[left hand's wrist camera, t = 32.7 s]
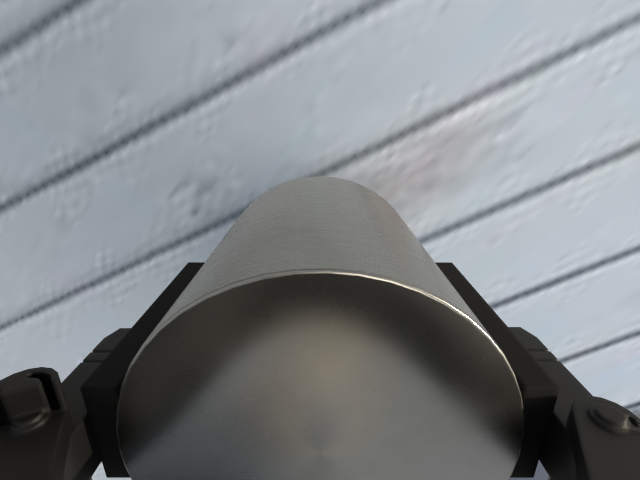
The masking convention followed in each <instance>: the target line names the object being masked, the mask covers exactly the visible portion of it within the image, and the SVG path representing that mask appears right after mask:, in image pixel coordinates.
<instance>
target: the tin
mask: <svg viewBox="0 0 640 480" xmlns="http://www.w3.org/2000/svg"><path fill="white" fill-rule="evenodd" d="M116 431H117V438H118V445H119V450H120V453H121V456H122V459H123V462H124V465H125V468H126V470H127V471H128V473H129V475H130V477H131V479H132V480H509V478H510V477H511V475H512V473H513V470H514V468H515V465H516V463H517V460H518V458H519V455H520V450H521V446H522V441H523V436H524V411H523V403H522V396H521V392H520V389H519V386H518V383H517V379H516V376H515V373H514V371H513V370H512V368H511V366H510V364H509V362H508V360H507V358H506V357H505V355H504V353H503V351H502V350H501V349H500V348H499V346H498V345H497V344H496V342H495V341H494V340H493V338H492V337H491V336H490V334H489V333H488V332H487V330H486V329H485V328H484V326H483V325H482V324H481V323H480V321H479V320H478V319H477V317H476V316H475V315H474V313H473V312H472V311H471V309H470V308H469V307H468V305H467V304H466V303H465V301H464V300H463V299H462V297H461V296H460V295H459V294H458V292H457V291H456V290H455V288H454V287H453V286H452V284H451V283H450V282H449V280H448V279H447V278H446V276H445V275H444V274H443V272H442V271H441V270H440V268H439V267H438V266H437V265H436V263H435V262H434V261H433V259H432V258H431V257H430V255H429V254H428V253H427V251H426V250H425V249H424V247H423V246H422V245H421V243H420V242H419V241H418V239H417V238H416V237H415V236H414V234H413V233H412V232H411V230H410V229H409V228H408V226H407V225H406V224H405V222H404V221H403V220H402V218H401V217H400V216H399V215H398V213H397V212H396V211H395V209H394V208H393V207H392V206H391V205H390V204H389V203H388V202H387V201H386V200H385V199H383V198H382V197H380V196H379V195H378V194H376V193H375V192H373V191H372V190H370V189H368V188H366V187H364V186H362V185H360V184H357V183H354V182H352V181H348V180H344V179H340V178H333V177H307V178H301V179H296V180H292V181H289V182H286V183H283V184H281V185H279V186H276V187H274V188H272V189H270V190H269V191H267V192H266V193H264V194H262V195H261V196H260V197H258V198H257V199H256V200H255V201H254V202H253V203H251V204H250V205H249V207H248V208H247V209H246V210H245V211H244V212H243V213H242V215H241V216H240V217H239V219H238V220H237V221H236V222H235V224H234V225H233V226H232V228H231V229H230V230H229V232H228V233H227V234H226V236H225V237H224V238H223V240H222V241H221V242H220V244H219V245H218V246H217V247H216V249H215V250H214V251H213V253H212V254H211V255H210V257H209V258H208V259H207V261H206V262H205V263H204V265H203V266H202V267H201V268H200V270H199V271H198V272H197V274H196V275H195V276H194V278H193V279H192V280H191V282H190V283H189V284H188V286H187V287H186V288H185V290H184V291H183V292H182V293H181V295H180V296H179V297H178V299H177V300H176V301H175V303H174V304H173V305H172V307H171V308H170V309H169V311H168V312H167V313H166V314H165V316H164V317H163V318H162V320H161V321H160V322H159V324H158V325H157V326H156V328H155V329H154V330H153V332H152V333H151V334H150V336H149V337H148V338H147V339H146V341H145V342H144V343H143V345H142V346H141V348H140V350H139V351H138V353H137V354H136V356H135V357H134V359H133V360H132V362H131V364H130V366H129V368H128V371H127V373H126V375H125V378H124V380H123V383H122V385H121V390H120V394H119V399H118V403H117V416H116Z"/></svg>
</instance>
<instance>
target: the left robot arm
mask: <svg viewBox="0 0 640 480" xmlns="http://www.w3.org/2000/svg"><path fill="white" fill-rule="evenodd" d="M203 265H204V263H188V264H187V265H186V266H185V267H184V268H183V270H182V271H181V272H180V273H179V274H178V275H177V276H176V278H175V279H174V280H173V281H172V282H171V283H170V284H169V286H168V287H167V288H166V289H165V290H164V291H163V293H162V294H161V295H160V296H159V297H158V298H157V299H156V301H155V302H154V303H153V304H152V305H151V306H150V307H149V309H148V310H147V311H146V312H145V313H144V314H143V316H142V317H141V318H140V319H139V320H138V321H137V322H136V324H135V325H134V326H133V327H132V328H120V329H118V330H117V331H115V332H114V333H112V334H110V335H109V336H107V337H106V338H104V339H103V340H102V341H101V342H100V343H99V344H98V345H97V346H96V347H95V348H94V350H93V352H92V353H90V354H89V355H88V356H87V357H86V358H85V359H84V360H83V363H80V364H79V365H78V366H77V367H76V368H75V369H74V371H73V372H72V373H71V374H70V375H69V376H68V377H67V378H66V379H65V380H64V381H63V382H62V383H61V381H60V378H59V375H58V372H56V371H55V370H54V369H52V368H45V367H39V368H32V369H27V370H24V371H21V372H18V373H15V374H12V375H10V376H8V377H6V378H4V379H2V380H0V480H92V478H91V477H92V475H93V474H94V472H95V470H96V469H97V467H98V466H99V464H100V462H101V461H102V463H103V466H104V470H105V473H106V476H107V477H130V475H129V473H128V471H127V470H126V468H125V465H124V462H123V459H122V456H121V453H120V450H119V445H118V438H117V431H116V416H117V403H118V399H119V394H120V390H121V385H122V383H123V380H124V378H125V375H126V373H127V371H128V368H129V366H130V364H131V362H132V360H133V359H134V357H135V356H136V354H137V353H138V351H139V350H140V348H141V346H142V345H143V343H144V342H145V341H146V339H147V338H148V337H149V336H150V334H151V333H152V332H153V330H154V329H155V328H156V326H157V325H158V324H159V322H160V321H161V320H162V318H163V317H164V316H165V314H166V313H167V312H168V311H169V309H170V308H171V307H172V305H173V304H174V303H175V301H176V300H177V299H178V297H179V296H180V295H181V293H182V292H183V291H184V290H185V288H186V287H187V286H188V284H189V283H190V282H191V280H192V279H193V278H194V276H195V275H196V274H197V272H198V271H199V270H200V268H201V267H202V266H203ZM436 265H437V266H438V267H439V268H440V270H441V271H442V272H443V274H444V275H445V276H446V278H447V279H448V280H449V282H450V283H451V284H452V286H453V287H454V288H455V290H456V291H457V292H458V294H459V295H460V296H461V297H462V299H463V300H464V301H465V303H466V304H467V305H468V307H469V308H470V309H471V311H472V312H473V313H474V315H475V316H476V317H477V319H478V320H479V321H480V323H481V324H482V325H483V326H484V328H485V329H486V330H487V332H488V333H489V334H490V336H491V337H492V338H493V340H494V341H495V342H496V344H497V345H498V346H499V348H500V349H501V350H502V351H503V353H504V355H505V357H506V358H507V360H508V362H509V364H510V366H511V368H512V370H513V371H514V373H515V376H516V379H517V383H518V386H519V389H520V392H521V396H522V403H523V411H524V436H523V441H522V446H521V450H520V455H519V458H518V460H517V463H516V465H515V468H514V470H513V473H512V475H511V477H534V474H535V470H536V467H537V464H538V460H540V462H541V463H542V465H543V466H544V468H545V470H546V471H547V473H548V474H549V478H548V480H640V419H639V418H638V417H636V416H635V415H634V414H633V413H632V412H630V411H629V410H627V409H625V408H624V407H622V406H620V405H618V404H617V403H614V402H612V401H609V400H606V399H603V398H600V397H594V396H592V395H591V394H590V393H589V392H588V391H587V390H586V388H585V387H584V386H583V385H582V384H581V383H580V382H579V381H578V380H577V379H576V378H575V377H574V376H573V375H572V374H571V373H570V372H569V371H568V370H567V369H566V368H565V367H564V365H563V364H562V363H561V362H558V361H557V358H556V357H555V356H554V355H553V354H552V353H551V352H550V351H548V349H547V348H546V347H545V346H544V345H543V344H542V342H541V341H540V340H539V339H538V338H537V337H535V336H534V335H532V334H530V333H529V332H527V331H526V330H524V329H522V328H521V327H507V326H506V324H505V323H504V322H503V321H502V320H501V319H500V318H499V316H498V315H497V314H496V313H495V312H494V311H493V310H492V308H491V307H490V306H489V305H488V304H487V303H486V301H485V300H484V299H483V298H482V297H481V296H480V295H479V293H478V292H477V291H476V290H475V289H474V288H473V287H472V285H471V284H470V283H469V282H468V281H467V280H466V278H465V277H464V276H463V275H462V274H461V273H460V272H459V270H458V269H457V268H456V267H455V266H454V265H453V263H436Z"/></svg>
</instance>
